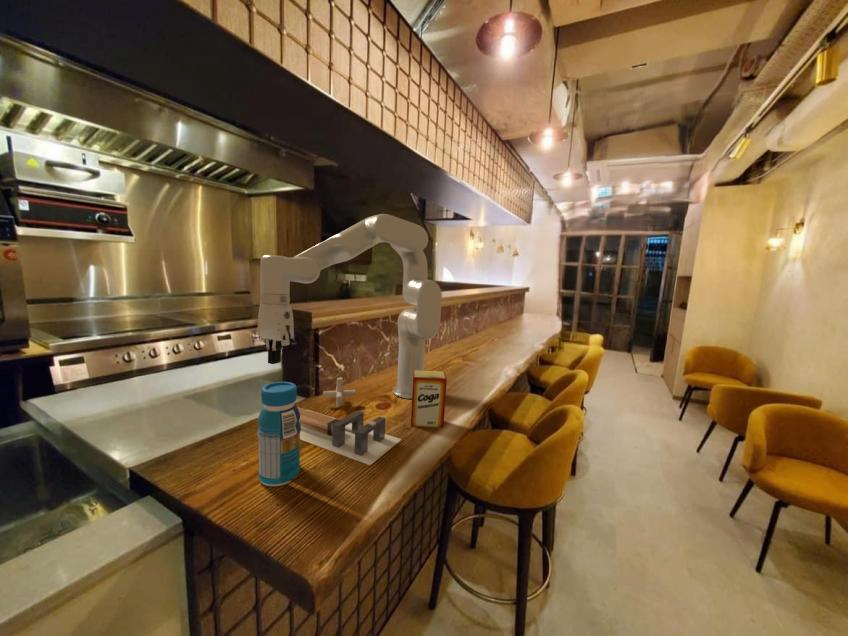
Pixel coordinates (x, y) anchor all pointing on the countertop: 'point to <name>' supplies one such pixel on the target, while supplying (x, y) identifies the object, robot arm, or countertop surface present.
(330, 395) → the pipe connector
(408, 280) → the robot arm
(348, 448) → the white rail board
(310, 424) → the bar
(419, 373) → the baking soda box
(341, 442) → the rear collar
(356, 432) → the front collar
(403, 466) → the countertop surface
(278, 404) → the beverage bottle
